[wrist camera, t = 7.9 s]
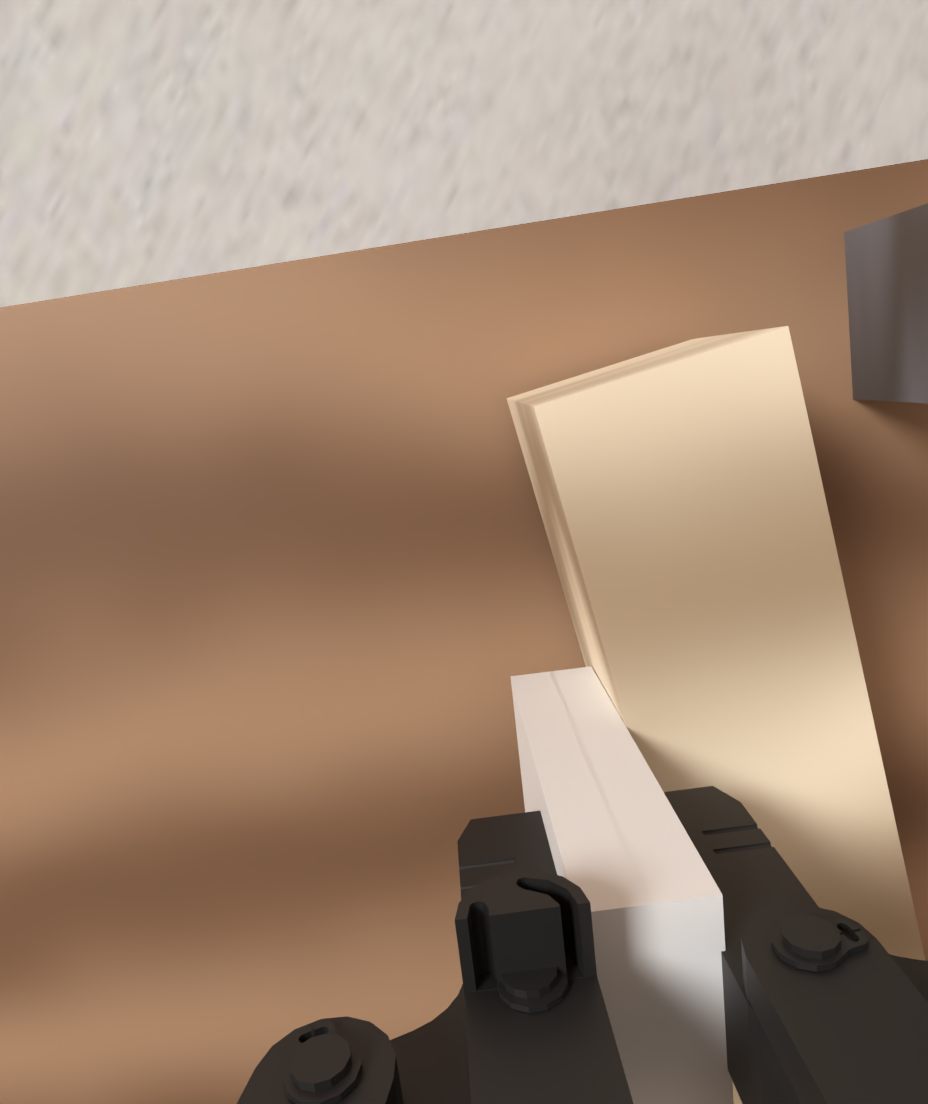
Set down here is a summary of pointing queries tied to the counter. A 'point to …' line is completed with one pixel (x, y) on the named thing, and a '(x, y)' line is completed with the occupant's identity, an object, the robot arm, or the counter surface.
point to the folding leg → (723, 601)
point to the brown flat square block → (366, 599)
